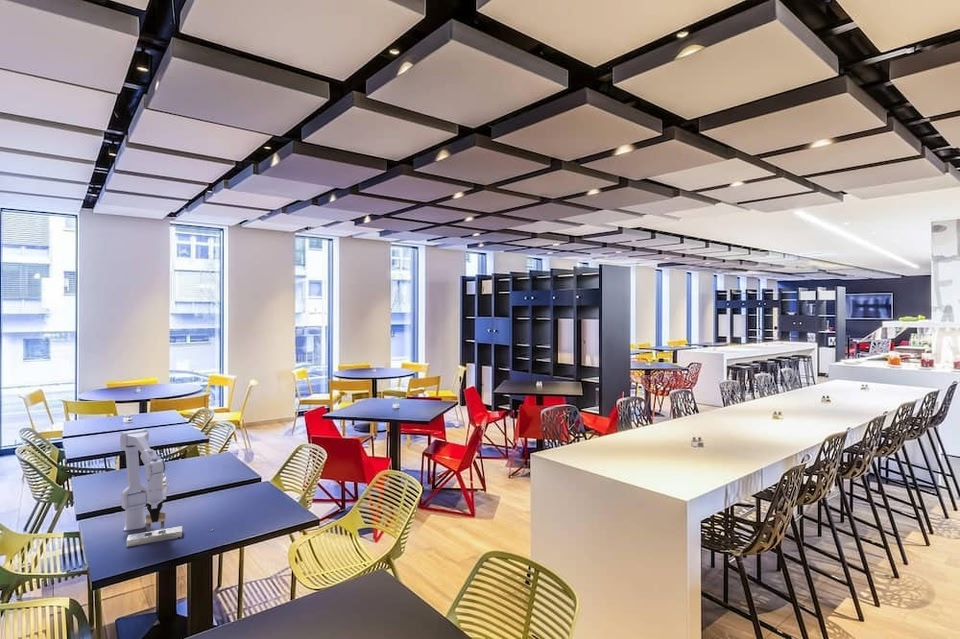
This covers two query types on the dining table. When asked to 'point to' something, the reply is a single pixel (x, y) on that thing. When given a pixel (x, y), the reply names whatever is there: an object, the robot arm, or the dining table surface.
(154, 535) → the grey plate with holes
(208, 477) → the dining table surface
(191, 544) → the dining table surface
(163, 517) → the clip
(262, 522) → the dining table surface
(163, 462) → the robot arm
